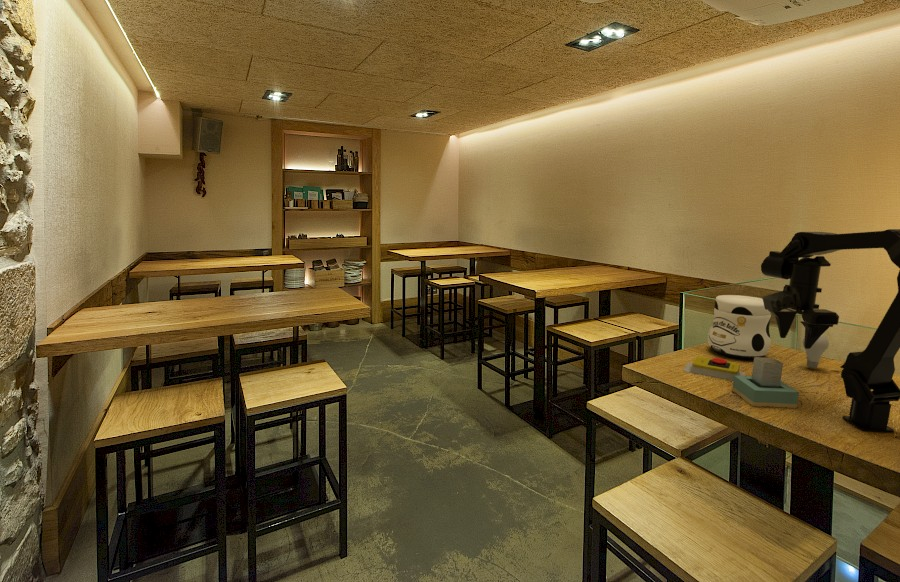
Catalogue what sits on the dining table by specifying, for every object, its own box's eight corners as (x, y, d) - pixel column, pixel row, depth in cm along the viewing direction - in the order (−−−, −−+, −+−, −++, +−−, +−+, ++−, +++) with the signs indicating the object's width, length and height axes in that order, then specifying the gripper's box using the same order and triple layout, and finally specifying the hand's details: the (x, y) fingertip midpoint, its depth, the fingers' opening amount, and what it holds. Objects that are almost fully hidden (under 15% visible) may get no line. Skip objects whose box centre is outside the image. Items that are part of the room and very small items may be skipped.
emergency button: (744, 369, 129) (683, 358, 138) (742, 384, 130) (682, 373, 139) (747, 360, 137) (689, 350, 145) (745, 374, 138) (687, 364, 146)
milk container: (701, 354, 154) (708, 300, 151) (711, 342, 168) (717, 292, 164) (765, 366, 144) (773, 307, 140) (770, 352, 157) (778, 298, 154)
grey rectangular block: (778, 398, 117) (783, 363, 115) (759, 397, 117) (763, 362, 116) (767, 391, 121) (772, 357, 120) (749, 391, 122) (754, 357, 120)
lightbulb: (828, 373, 138) (835, 336, 136) (805, 371, 140) (810, 335, 138) (817, 366, 144) (823, 330, 142) (794, 364, 146) (800, 329, 144)
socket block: (796, 408, 114) (799, 392, 114) (752, 406, 115) (754, 390, 114) (772, 391, 124) (774, 377, 123) (732, 390, 125) (734, 375, 124)
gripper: (748, 276, 128) (741, 332, 131) (796, 288, 110) (786, 353, 113) (791, 276, 128) (783, 333, 131) (845, 289, 110) (834, 355, 113)
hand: (794, 343), depth 122 cm, fingers open, 9 cm apart
